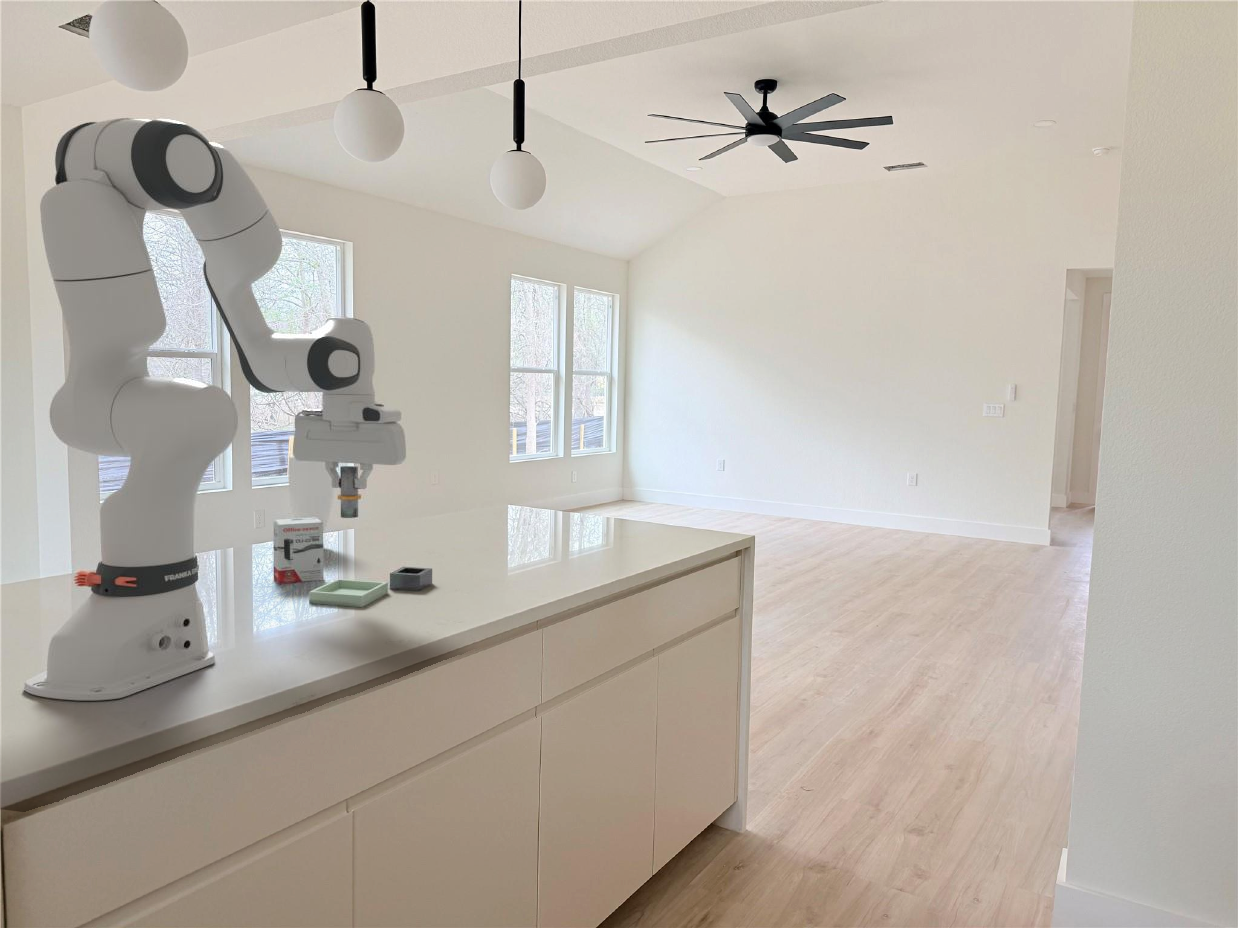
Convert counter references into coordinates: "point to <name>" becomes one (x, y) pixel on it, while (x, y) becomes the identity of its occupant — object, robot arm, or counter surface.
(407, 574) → the socket block
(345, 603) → the tray
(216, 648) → the counter surface
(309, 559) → the ink box
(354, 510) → the pin
